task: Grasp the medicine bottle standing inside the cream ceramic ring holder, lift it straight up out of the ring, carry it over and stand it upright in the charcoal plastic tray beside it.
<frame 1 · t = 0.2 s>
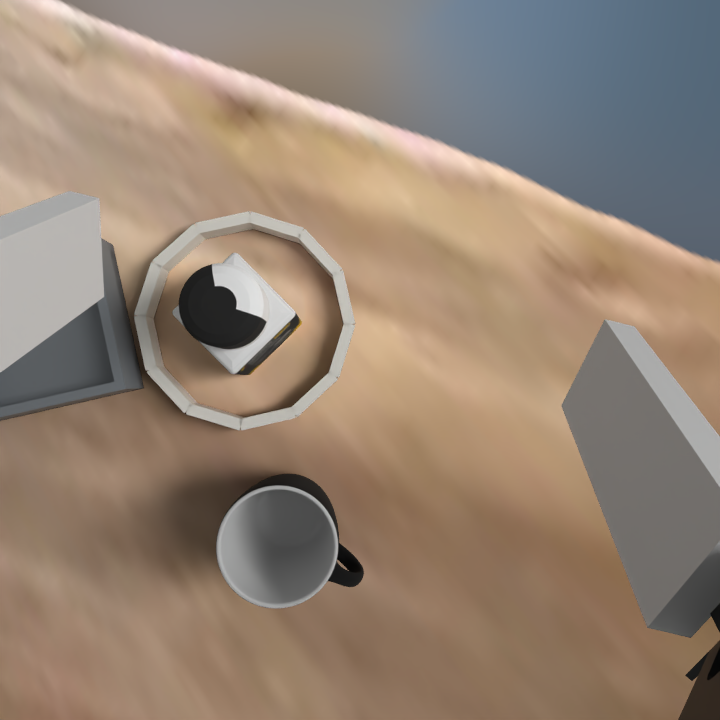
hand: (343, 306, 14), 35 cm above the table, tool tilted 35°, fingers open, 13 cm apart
medicine bottle: (249, 322, 49), resting in ring holder
mug: (304, 520, 48), on the table
ring holder: (249, 322, 49), on the table
tray: (54, 332, 48), on the table
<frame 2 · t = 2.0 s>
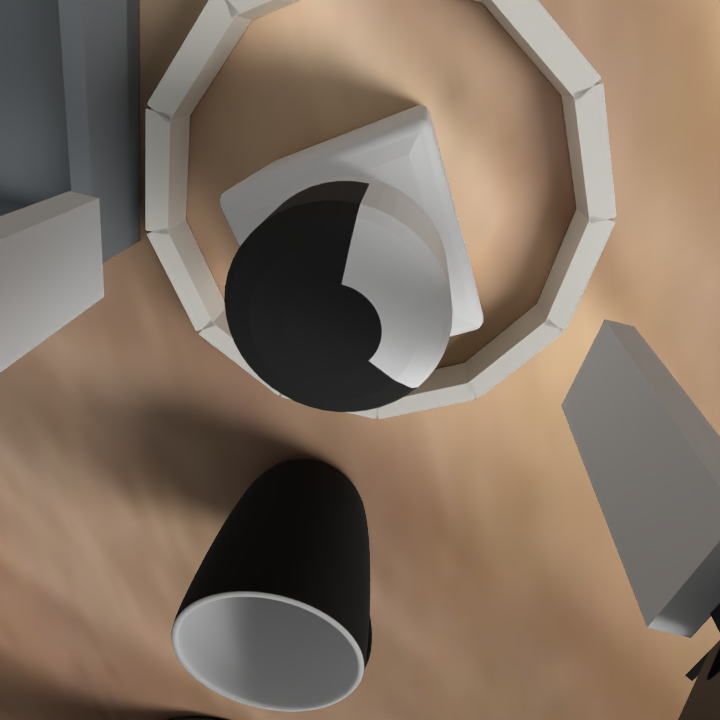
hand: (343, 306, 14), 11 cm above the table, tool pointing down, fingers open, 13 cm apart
medicine bottle: (373, 213, 24), resting in ring holder
mug: (323, 511, 33), on the table
ring holder: (372, 214, 23), on the table
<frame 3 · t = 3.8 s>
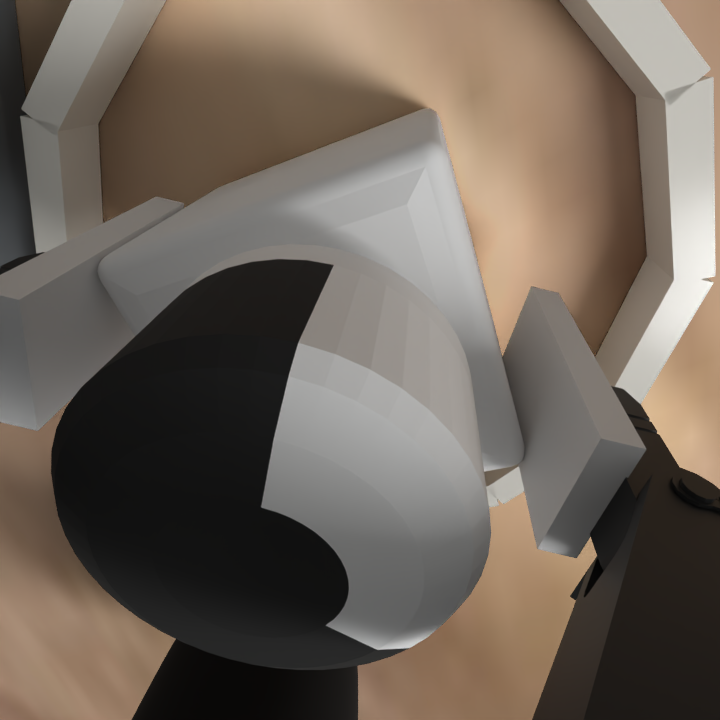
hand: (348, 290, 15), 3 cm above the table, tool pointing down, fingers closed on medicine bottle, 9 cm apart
medicine bottle: (359, 257, 17), resting in ring holder, touching gripper
mug: (303, 610, 27), on the table
ring holder: (358, 260, 17), on the table
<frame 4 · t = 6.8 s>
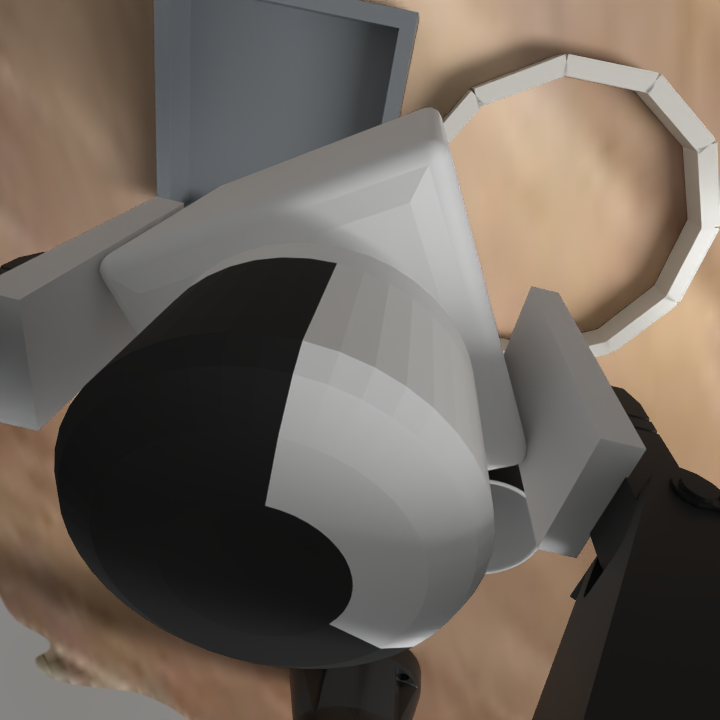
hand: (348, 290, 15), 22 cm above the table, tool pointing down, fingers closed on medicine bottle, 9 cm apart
medicine bottle: (361, 256, 17), point 19 cm above the table, touching gripper
mug: (474, 447, 44), on the table
ring holder: (543, 226, 34), on the table
tray: (288, 122, 33), on the table
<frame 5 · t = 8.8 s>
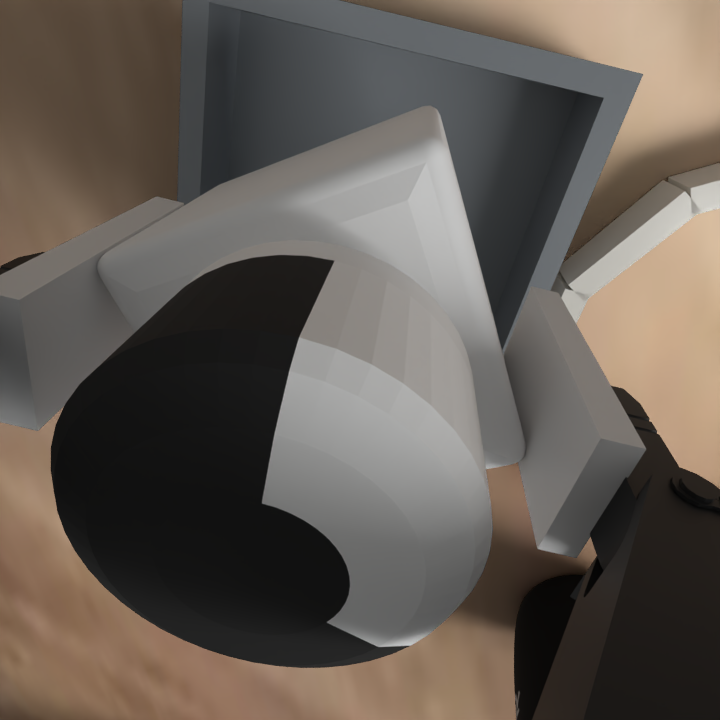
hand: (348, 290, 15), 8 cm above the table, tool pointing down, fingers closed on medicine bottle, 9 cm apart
medicine bottle: (360, 255, 17), point 6 cm above the table, touching gripper
mug: (581, 618, 33), on the table
tray: (374, 214, 22), on the table
when the fingers open (5 cm above the table, at t = 10.1 s): medicine bottle drops 1 cm, resting on tray.
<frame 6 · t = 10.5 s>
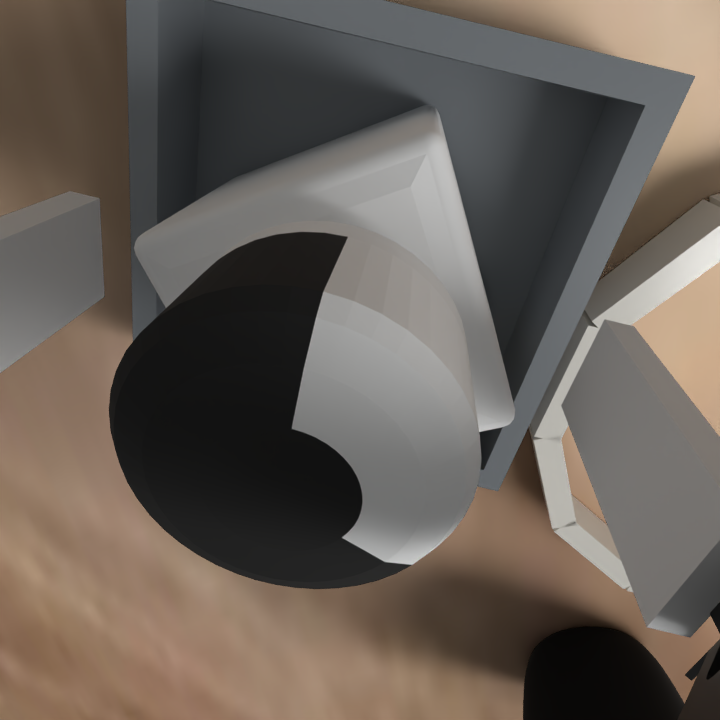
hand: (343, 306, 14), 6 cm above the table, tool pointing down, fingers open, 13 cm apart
medicine bottle: (364, 244, 18), point 1 cm above the table, touching tray
mug: (596, 670, 30), on the table
tray: (366, 237, 19), on the table
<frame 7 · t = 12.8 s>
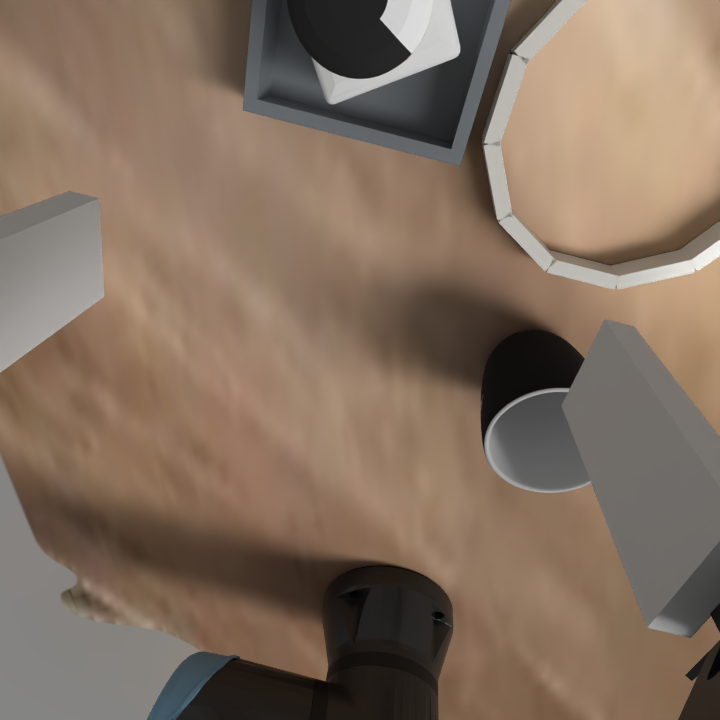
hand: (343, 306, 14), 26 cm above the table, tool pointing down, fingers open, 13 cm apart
medicine bottle: (382, 9, 31), point 1 cm above the table, touching tray
mug: (535, 376, 44), on the table
ring holder: (638, 134, 33), on the table
tray: (383, 10, 31), on the table
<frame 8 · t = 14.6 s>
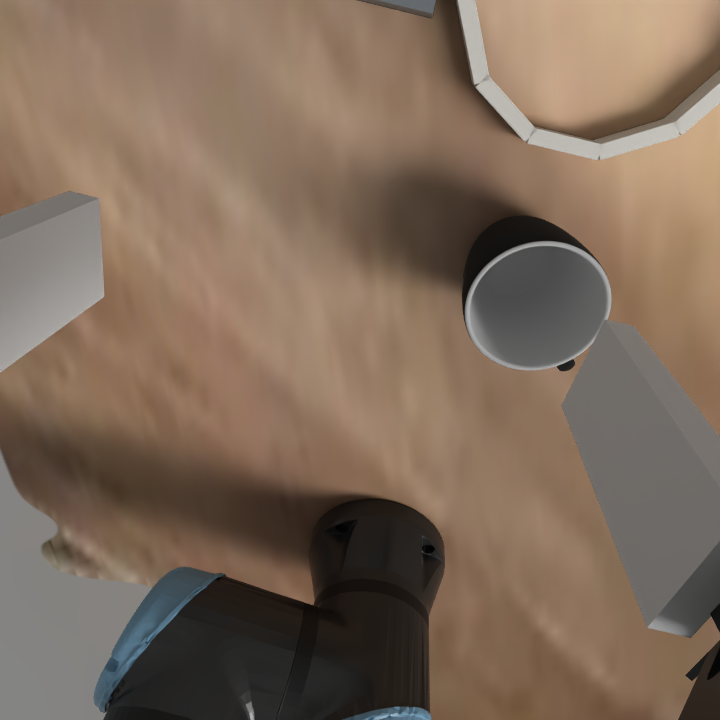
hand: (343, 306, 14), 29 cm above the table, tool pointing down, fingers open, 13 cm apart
mug: (521, 272, 42), on the table
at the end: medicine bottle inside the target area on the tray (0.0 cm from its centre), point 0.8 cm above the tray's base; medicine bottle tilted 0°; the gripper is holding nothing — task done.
